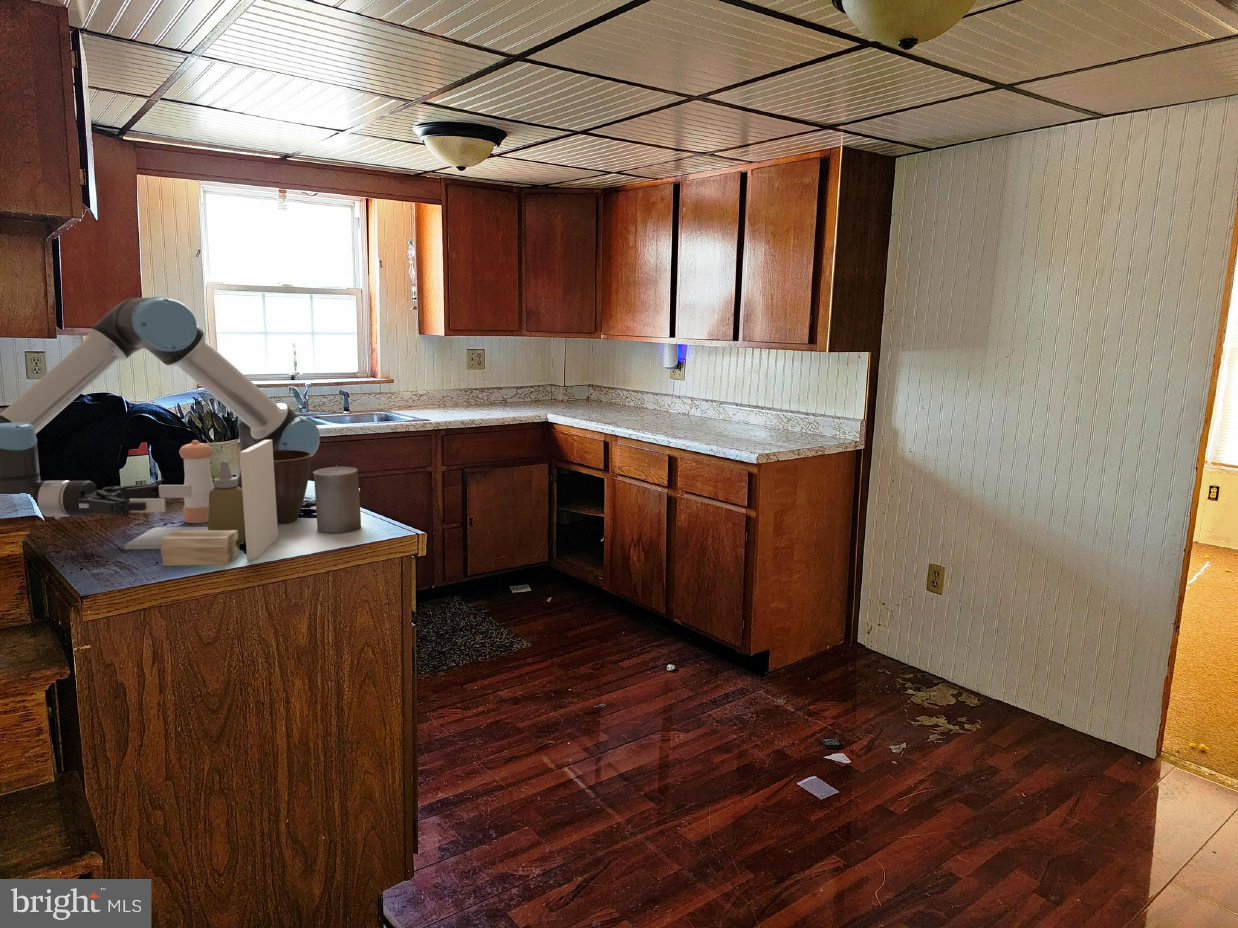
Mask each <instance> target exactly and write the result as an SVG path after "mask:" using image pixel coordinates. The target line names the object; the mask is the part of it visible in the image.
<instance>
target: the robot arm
mask: <svg viewBox="0 0 1238 928" xmlns="http://www.w3.org/2000/svg"><path fill="white" fill-rule="evenodd" d="M205 336H206V335H205V330H204V329H203V327H201V326H199V325H198V324H197V319H196V317H195V315H194V313H193V312H192V310H191V309H189V307H188V306H186V305H185V304H183V303H182V302H181V301H179V300H177V299H176V300H175V299H173V298H170V297H169V298H168V297H164V296H153V297H131V298H128V299H125V300H122V302H120V303H118V304H117V305H115V307H113V308H112V309H111V310H109V312H107V313H106V314H105V315H104V316H103V317H102V318H101V319H99V320H98V321H97V322H96V323H95V324H94V325H93V326H92V327H91V328H89V329H88V336H87V338H85V340H83V341H82V342H81V343H79V345H77V346H76V347H75V348H74V349H73V350H72V351H71V352H70V353H69V354H67V355H66V356H65V357H64V358H63V359H62V360H61V361H59V362H58V363H57V364H55V366H53V367H52V369H50V370H49V371H48V372H47V373H46V374H44V375H43V376H42V377H41V378H40V379H38V381H36V382H35V383H34V384H33V385H32V386H30V387H29V388H28V389H27V390H26V391H25V392H23V393H22V394H21V395H20V396H19V397H18V398H17V399H16V400H14V401H13V402H12V403H11V404H10V405H9V406H8V407H6V408H5V409H4V410H3V411H2V412H1V413H0V494H20V493H26V494H30V495H31V497H33V499H34V500H35V502H36V503H37V506H38V507H39V509H40V511H41V513H42V514H43V517H44V518H45V517H49V518H51V517H54V519H55V520H60V519H61V517H62V518H64V517H67V518H68V517H72V518H73V517H76V518H78V517H80V518H81V517H82V518H83V517H85V518H86V517H87V518H88V517H90V516H93V515H94V514H95V513H96V514H102V515H112V516H118V517H119V516H122V517H124V518H126V517H127V518H128V517H130V513H165V512H166V499H167V498H169V499H170V498H173V499H178V498H179V499H184V498H191V497H192V486H191V485H184V484H162V481H161V480H159V481H156V482H155V483H144V484H132V485H131V484H130V485H115V486H114V485H111V486H109V487H108V486H107V487H102V488H101V489H99V488H97V485H96V484H95V483H94V482H93V481H91V480H68V479H67V480H65V479H64V480H41V475H40V463H39V452H38V438H37V435H36V434H37V433H39V432H40V431H41V430H42V429H44V428H45V426H46V425H48V424H49V423H50V422H51V421H52V420H53V419H54V418H55V417H56V416H58V415H59V414H60V413H61V412H62V411H63V410H65V408H67V406H68V405H70V404H71V403H72V402H73V401H74V400H75V399H76V398H78V397H79V396H80V395H81V394H82V393H83V392H85V391H86V389H88V388H89V387H90V386H91V385H92V384H93V383H94V382H95V381H96V380H98V379H99V378H100V377H101V376H102V375H103V374H104V373H105V372H107V371H108V370H109V369H110V368H111V367H112V366H113V365H115V363H116V362H118V361H120V362H122V361H126V360H127V359H128V358H129V357H130V356H132V355H133V354H135V353H136V352H138V351H140V350H143V349H144V350H145V349H146V350H147V351H148V352H149V353H151V355H153V356H154V357H156V358H157V359H158V360H159V361H160V362H162V363H163V364H164V365H165V366H174V367H175V366H177V367H178V369H179V368H180V369H181V370H182V371H183V372H184V373H185V374H186V375H187V376H189V377H190V378H191V379H193V380H194V382H196V383H197V384H198V385H200V386H201V387H202V388H203V389H204V390H205V391H206V392H208V393H209V394H210V395H212V397H214V398H215V399H216V400H217V401H218V402H219V403H221V404H222V405H223V406H225V407H226V408H227V409H228V410H229V411H230V412H232V413H233V414H234V415H235V416H236V417H237V428H238V429H237V430H238V440H239V441H238V442H239V453H240V452H241V451H243V450H245V449H247V448H249V447H251V446H253V445H255V444H257V443H259V442H261V441H264V440H272V445H273V450H300V451H307V452H310V453H311V458H312V457H313V456H314V455H315V454H316V453H317V451H318V449H319V446H320V440H321V439H320V436H321V434H320V430H319V427H318V426H317V424H316V423H314V421H312V420H310V419H308V418H306V417H301V416H299V415H298V414H297V413H296V412H295V411H294V410H292V409H291V408H290V406H288V405H287V404H286V403H283V402H281V403H280V402H278V403H277V402H275V401H274V400H272V398H271V397H269V396H268V395H267V394H266V393H265V392H263V390H262V389H260V388H259V387H258V386H257V385H256V384H254V382H253V381H251V380H250V379H249V378H248V377H247V376H245V374H243V373H242V372H241V371H240V370H239V369H238V368H237V367H236V366H235V365H233V364H232V362H230V361H229V360H228V359H226V357H225V356H223V354H222V353H220V352H219V351H218V350H216V349H215V348H214V347H213V345H211V343H209V342H208V341H207V340H206V338H205ZM237 478H238V485H237V486H238V487H240V488H242V478H241V467H240V469H239V473H238V476H237ZM156 497H157V498H156Z"/></svg>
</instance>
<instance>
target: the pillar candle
mask: <svg viewBox="0 0 1238 928" xmlns="http://www.w3.org/2000/svg"><path fill="white" fill-rule="evenodd" d="M358 471H359V470H358V469H357V468H356V467H353V466H352V467H350V466H338V465H337V464H336V465H335V466H332V467H325V468H324V467H323V468H319V469H316V470H314V471H313V472H312V474H313V478H314V481H313V483H314V493H315V495H314V497H315V499H314V500H315V512H316V524H317V531H318V532H319V533H329V534H344V533H345V534H346V533H351V532H353V531H357V530H358V529H359V528H361V527H362V519H361V518H362V515H361V502H360V501H361V500H360V485H359V484H360V483H359V472H358Z"/></svg>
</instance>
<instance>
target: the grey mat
mask: <svg viewBox="0 0 1238 928" xmlns="http://www.w3.org/2000/svg"><path fill="white" fill-rule="evenodd" d="M176 530H208V526H177V527H175V526H174V527H173V526H172V527H170V526H169V527H168V526H166V527H165V526H163V527H162V526H161V527H159V526H158V527H153V528H151V529H148V530H147V531H145V532H144V533H142V534H141V535H139V536H137V537H134V539H132V540H130V541H128V542H126V543H125V544H124V550H161V548H162V547H163V540H162V538H164V537H166V536H168V535H169V534H171V533H173V532H174V531H176Z"/></svg>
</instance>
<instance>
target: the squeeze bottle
mask: <svg viewBox="0 0 1238 928" xmlns="http://www.w3.org/2000/svg"><path fill="white" fill-rule="evenodd" d="M212 482H213V486H214V488H213V489H212V490H211V491H210V492H209V517H208V522H207V524H208V526H207V527H208V530H238V539H237V540H236V547H237V546H240V544H241V543H243V542H245V543H246V541H245V540H246V536H245V521H244V507H243V492H242V488H240V487H238V486H237V485H238V476H233V475H232V472H231V469H230V465H229V461H227V460H223V461H221V462H220V467H219V473H218V477H215V478H213V479H212ZM243 544H244V543H243ZM241 545H242V544H241Z"/></svg>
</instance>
